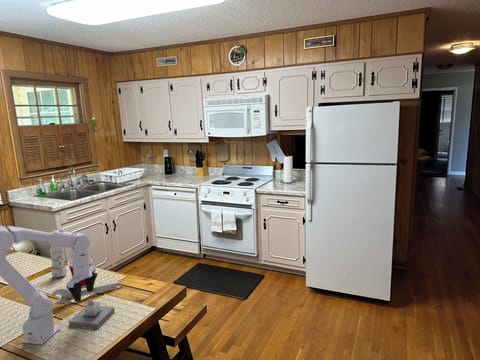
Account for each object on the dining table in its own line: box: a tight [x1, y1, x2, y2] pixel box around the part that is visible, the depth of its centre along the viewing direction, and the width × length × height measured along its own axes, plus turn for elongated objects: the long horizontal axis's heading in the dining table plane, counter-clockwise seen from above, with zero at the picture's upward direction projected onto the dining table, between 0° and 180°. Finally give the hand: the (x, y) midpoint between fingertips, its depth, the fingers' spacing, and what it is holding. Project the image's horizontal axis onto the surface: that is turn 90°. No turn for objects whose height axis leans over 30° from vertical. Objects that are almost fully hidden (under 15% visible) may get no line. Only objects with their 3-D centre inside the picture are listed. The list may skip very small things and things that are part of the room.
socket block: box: [68, 305, 115, 330], centre depth 130 cm, size 12×12×2 cm
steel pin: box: [83, 299, 101, 318], centre depth 129 cm, size 4×4×7 cm
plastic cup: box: [66, 257, 93, 287], centre depth 158 cm, size 11×11×12 cm
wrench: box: [50, 280, 123, 306], centre depth 146 cm, size 8×2×30 cm
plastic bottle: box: [49, 245, 67, 279], centre depth 166 cm, size 6×7×20 cm
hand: (84, 296), depth 129 cm, fingers open, 7 cm apart
